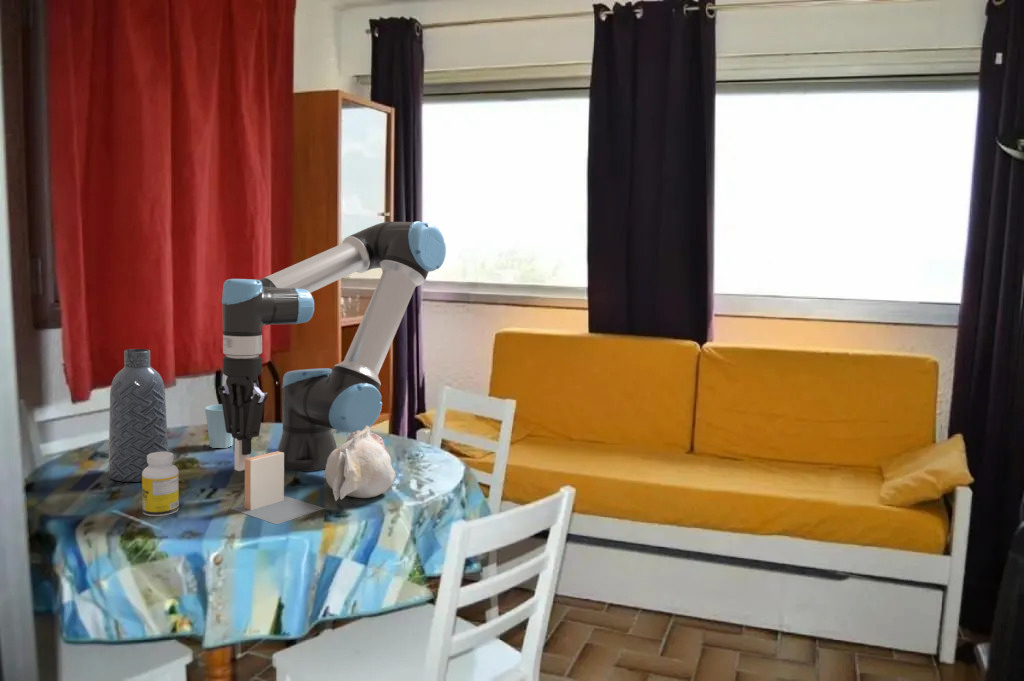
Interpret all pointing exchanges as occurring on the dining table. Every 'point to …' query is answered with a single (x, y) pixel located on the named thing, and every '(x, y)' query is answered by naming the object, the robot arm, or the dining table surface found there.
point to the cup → (217, 427)
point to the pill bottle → (160, 485)
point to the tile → (264, 480)
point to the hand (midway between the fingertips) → (242, 468)
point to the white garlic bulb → (360, 467)
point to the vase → (136, 417)
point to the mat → (280, 510)
